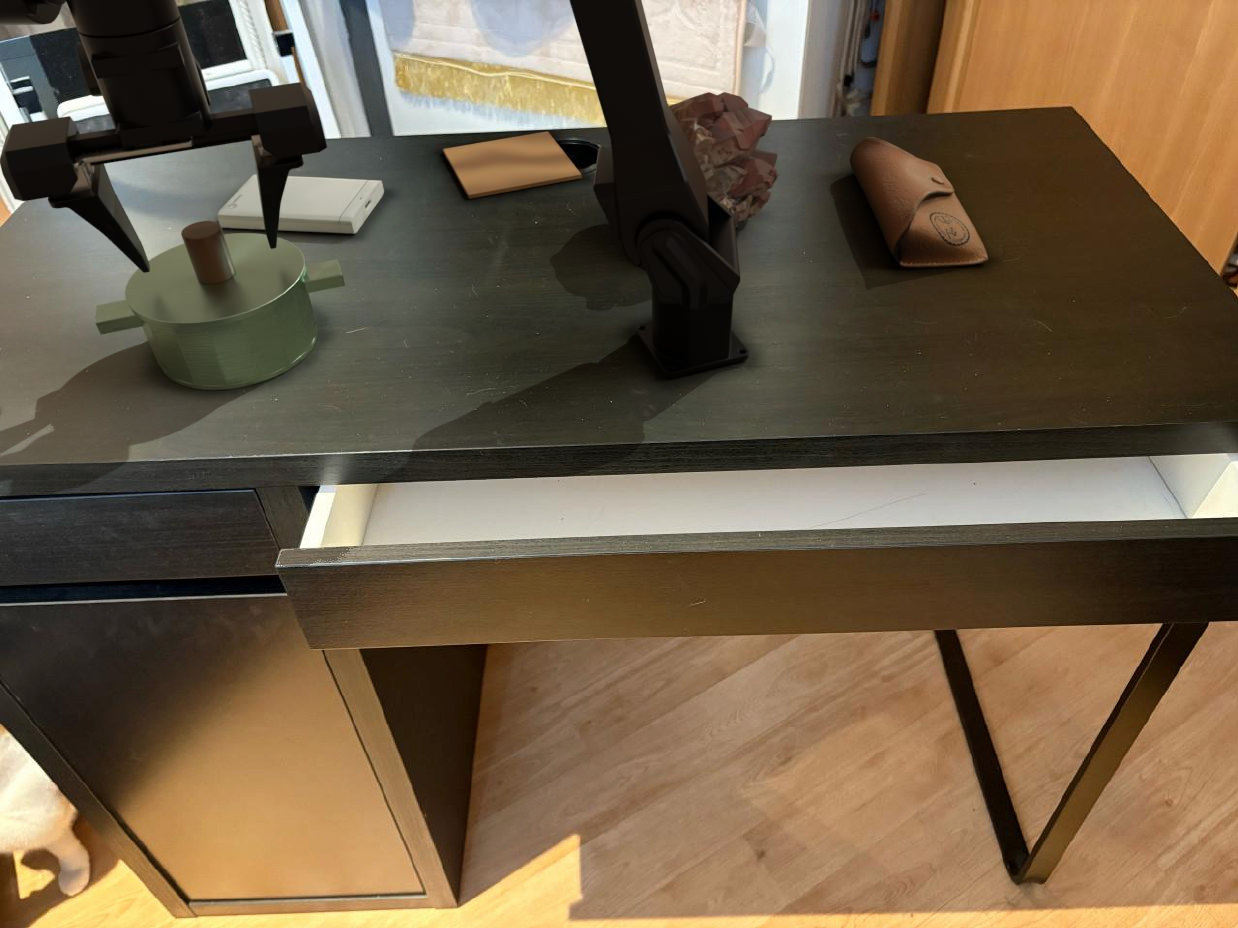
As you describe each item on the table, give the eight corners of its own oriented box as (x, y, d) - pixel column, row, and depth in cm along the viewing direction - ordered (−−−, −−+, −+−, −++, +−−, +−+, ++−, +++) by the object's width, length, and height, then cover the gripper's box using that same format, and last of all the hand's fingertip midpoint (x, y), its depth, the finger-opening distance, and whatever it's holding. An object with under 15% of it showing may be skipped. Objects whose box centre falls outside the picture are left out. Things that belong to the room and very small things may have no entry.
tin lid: (318, 313, 66) (301, 253, 62) (129, 352, 63) (102, 291, 60) (298, 233, 74) (283, 177, 71) (131, 264, 71) (108, 207, 68)
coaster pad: (581, 178, 91) (581, 174, 91) (469, 199, 88) (468, 195, 88) (547, 135, 99) (547, 131, 99) (443, 152, 96) (442, 149, 96)
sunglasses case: (997, 259, 77) (970, 194, 73) (914, 301, 79) (884, 240, 75) (936, 164, 90) (910, 104, 87) (866, 201, 93) (839, 145, 89)
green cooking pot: (365, 360, 70) (349, 296, 66) (118, 414, 65) (88, 349, 62) (342, 284, 78) (327, 223, 74) (122, 328, 74) (95, 266, 70)
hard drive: (215, 213, 84) (350, 218, 83) (254, 172, 90) (381, 176, 89) (221, 230, 85) (354, 236, 84) (259, 189, 91) (384, 193, 90)
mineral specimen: (626, 271, 87) (758, 184, 89) (682, 293, 76) (832, 194, 78) (564, 155, 82) (706, 65, 84) (614, 160, 71) (778, 57, 72)
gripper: (278, -32, 64) (330, 186, 75) (-28, 4, 60) (73, 231, 70) (296, 16, 56) (352, 252, 67) (-55, 62, 52) (63, 308, 62)
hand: (211, 257), depth 67 cm, fingers open, 8 cm apart
